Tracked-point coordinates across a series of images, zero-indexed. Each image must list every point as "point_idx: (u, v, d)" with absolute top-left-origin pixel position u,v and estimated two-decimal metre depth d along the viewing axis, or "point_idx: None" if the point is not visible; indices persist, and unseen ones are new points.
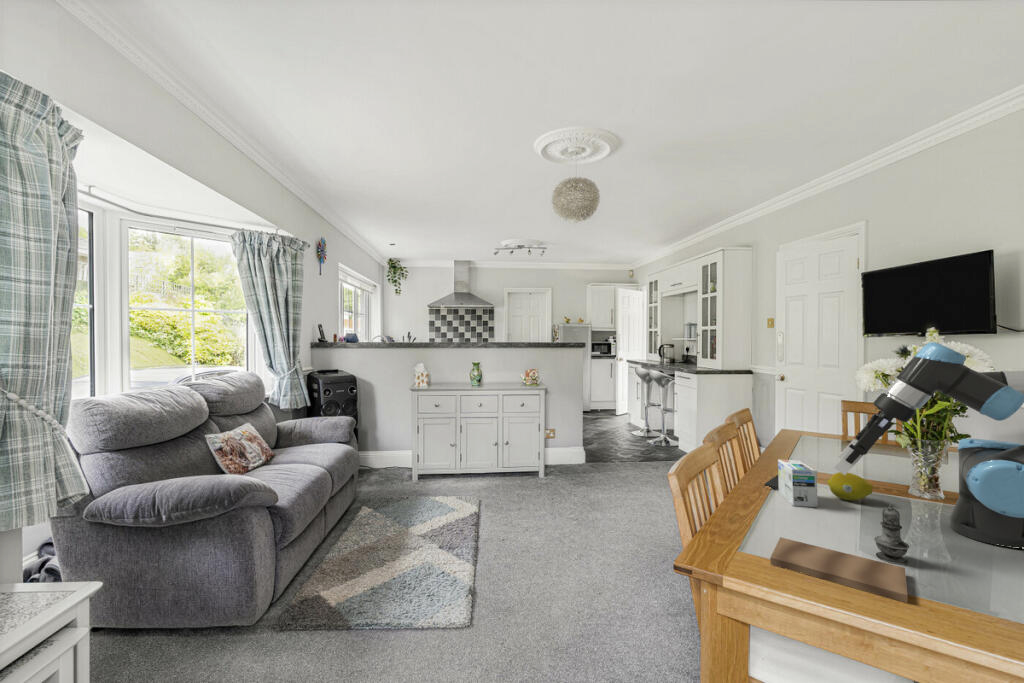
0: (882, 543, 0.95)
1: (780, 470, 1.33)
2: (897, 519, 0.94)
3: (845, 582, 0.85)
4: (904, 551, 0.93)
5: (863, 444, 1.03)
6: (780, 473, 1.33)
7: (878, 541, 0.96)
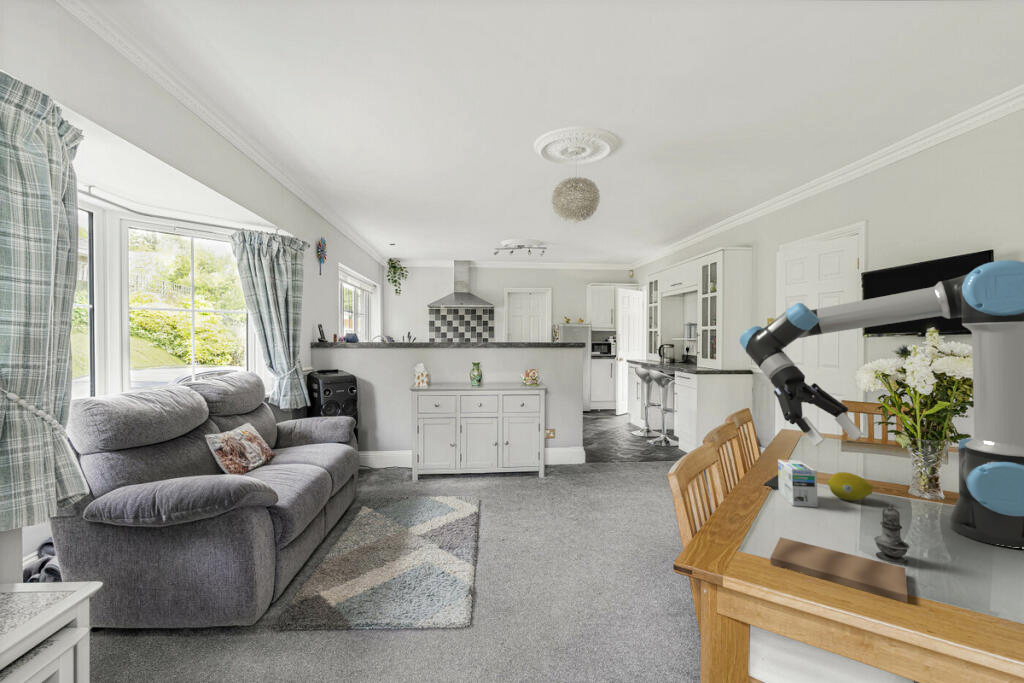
0: (882, 543, 0.95)
1: (780, 470, 1.33)
2: (897, 519, 0.94)
3: (845, 582, 0.85)
4: (904, 551, 0.93)
5: (785, 412, 1.08)
6: (780, 473, 1.33)
7: (878, 541, 0.96)
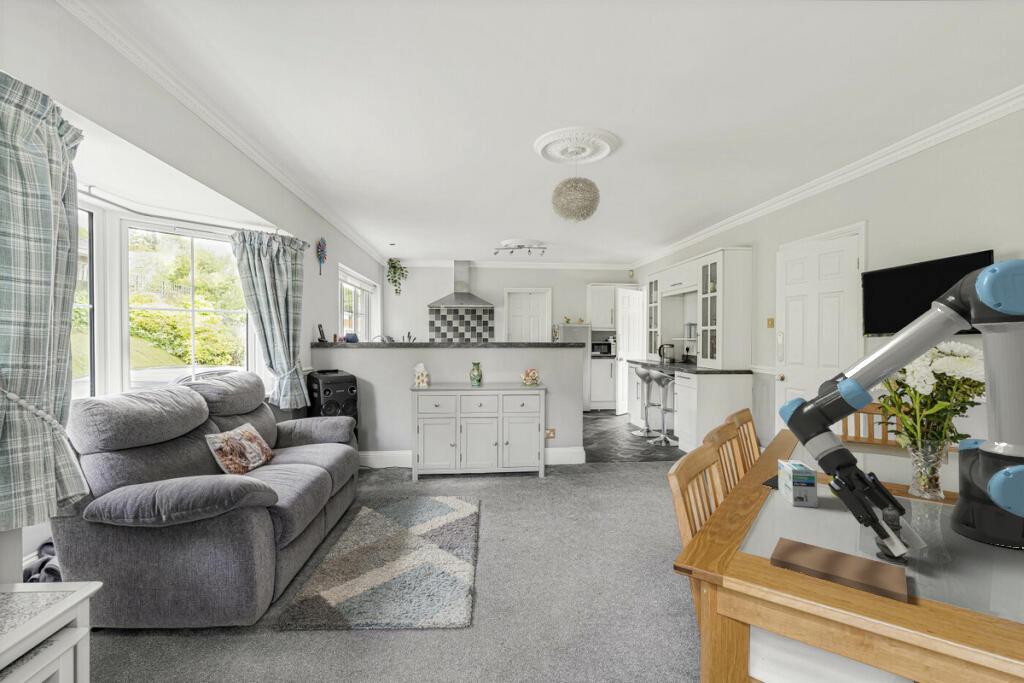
0: (882, 543, 0.95)
1: (780, 470, 1.33)
2: (897, 519, 0.94)
3: (845, 582, 0.85)
4: None
5: (857, 515, 0.96)
6: (780, 473, 1.33)
7: (878, 541, 0.96)
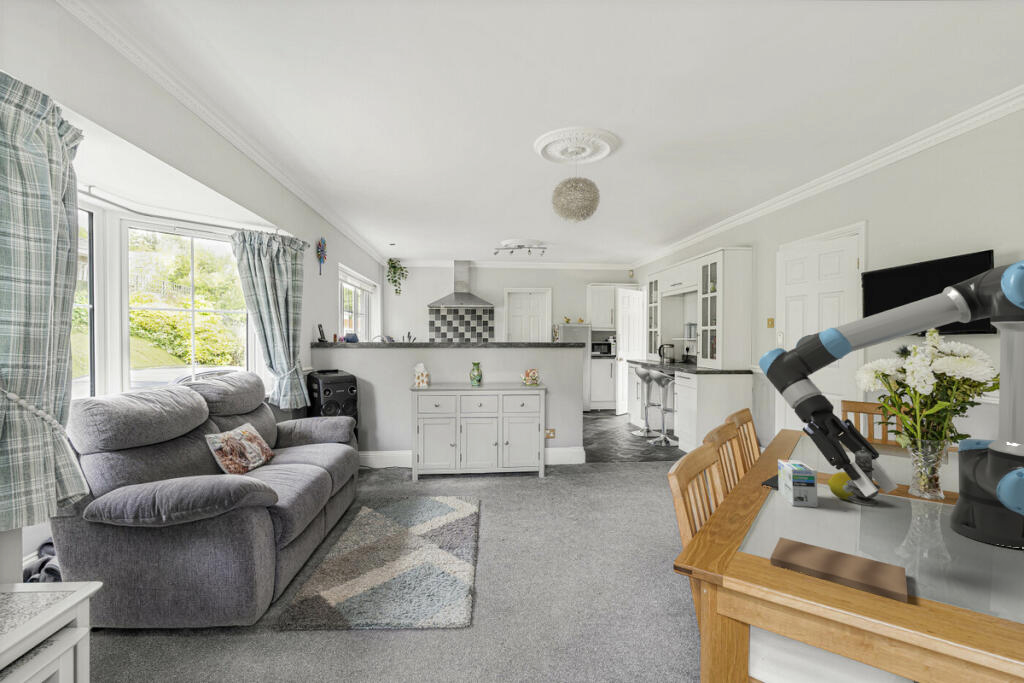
0: (853, 485, 0.94)
1: (780, 470, 1.33)
2: (869, 461, 0.93)
3: (845, 582, 0.85)
4: (875, 492, 0.92)
5: (829, 457, 0.95)
6: (780, 473, 1.33)
7: (850, 483, 0.95)
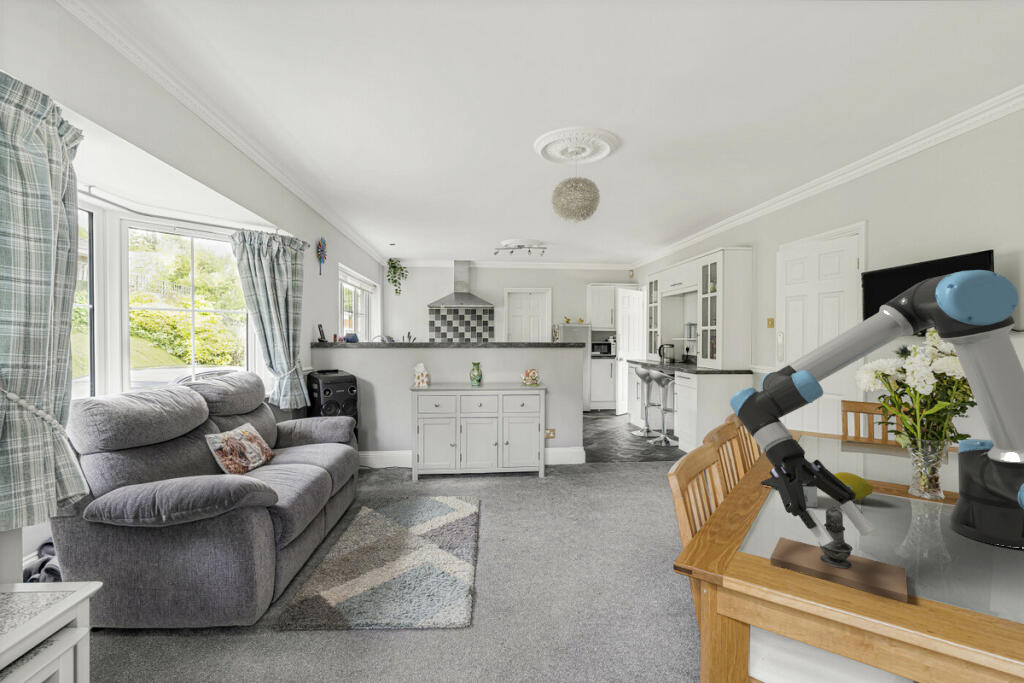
0: (824, 546, 0.91)
1: None
2: (840, 520, 0.90)
3: (845, 582, 0.85)
4: (847, 554, 0.89)
5: (786, 502, 0.92)
6: None
7: None
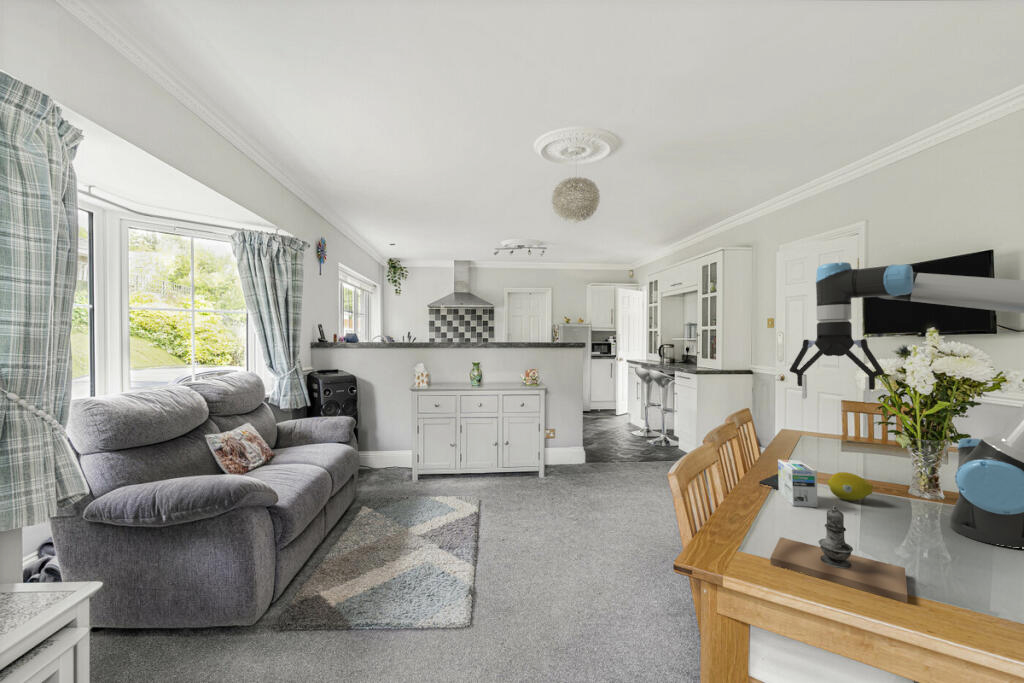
0: (825, 546, 0.91)
1: (780, 470, 1.33)
2: (840, 521, 0.90)
3: (845, 582, 0.85)
4: (847, 554, 0.89)
5: None
6: (780, 473, 1.33)
7: (822, 544, 0.92)
